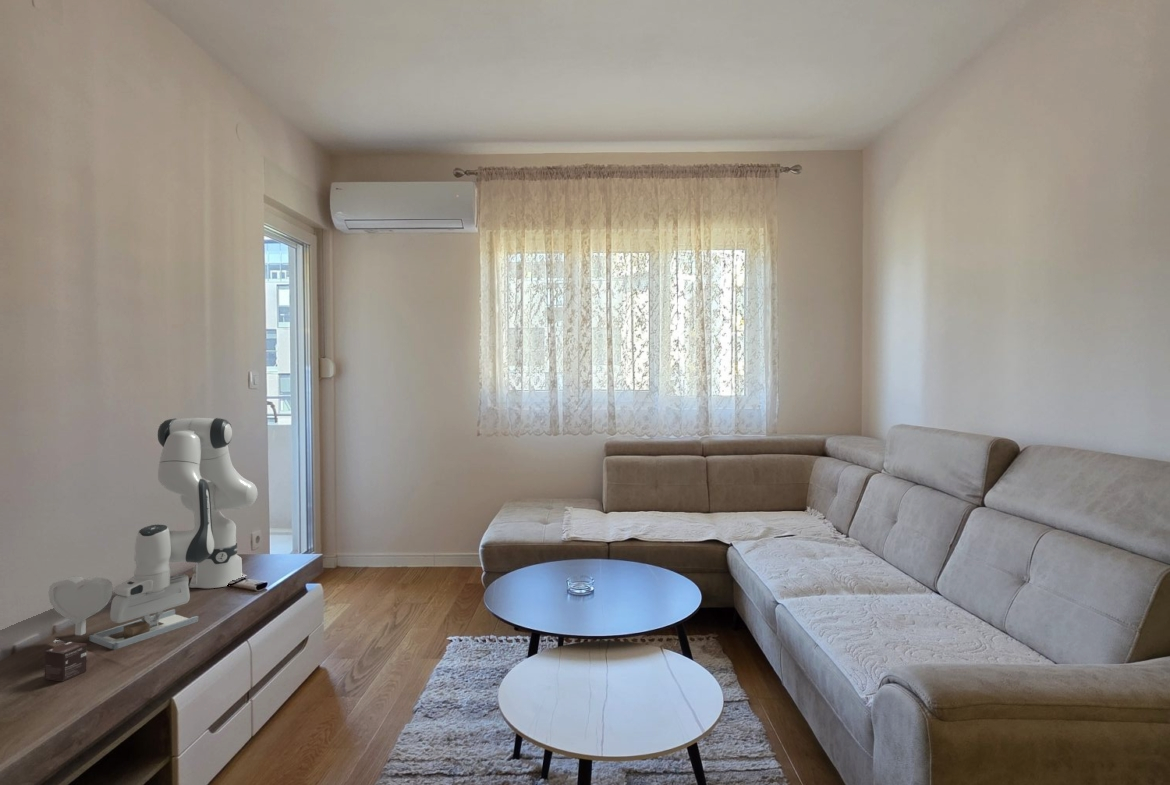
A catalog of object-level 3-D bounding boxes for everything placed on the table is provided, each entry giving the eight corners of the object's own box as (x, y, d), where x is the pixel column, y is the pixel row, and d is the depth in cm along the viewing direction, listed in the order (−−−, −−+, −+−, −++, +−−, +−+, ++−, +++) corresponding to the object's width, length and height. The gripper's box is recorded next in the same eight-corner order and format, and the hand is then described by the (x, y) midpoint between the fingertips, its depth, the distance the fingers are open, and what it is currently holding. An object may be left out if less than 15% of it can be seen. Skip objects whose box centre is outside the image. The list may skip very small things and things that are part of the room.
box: (62, 682, 150) (62, 653, 150) (43, 679, 151) (43, 651, 151) (87, 671, 156) (87, 643, 156) (68, 668, 157) (68, 641, 157)
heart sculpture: (45, 642, 172) (46, 580, 172) (60, 635, 177) (60, 575, 177) (101, 642, 173) (102, 580, 173) (114, 635, 178) (114, 575, 178)
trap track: (113, 655, 165) (114, 644, 165) (88, 645, 171) (88, 635, 171) (198, 626, 186) (198, 616, 186) (173, 618, 192) (173, 609, 192)
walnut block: (132, 641, 171) (132, 629, 171) (123, 638, 173) (123, 626, 173) (149, 635, 175) (149, 623, 175) (140, 632, 177) (140, 620, 177)
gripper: (182, 570, 188) (181, 614, 188) (107, 589, 170) (106, 637, 170) (194, 573, 185) (193, 617, 185) (120, 592, 167) (119, 642, 167)
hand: (151, 627), depth 177 cm, fingers closed
